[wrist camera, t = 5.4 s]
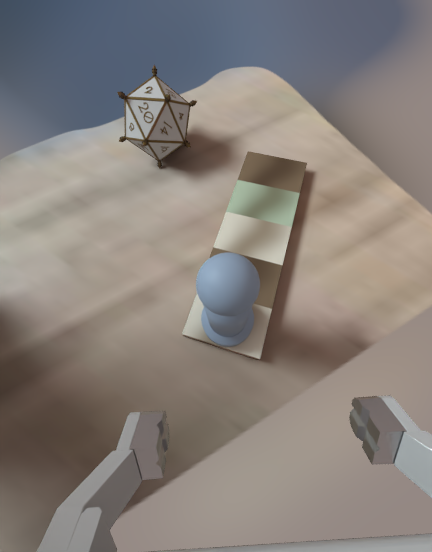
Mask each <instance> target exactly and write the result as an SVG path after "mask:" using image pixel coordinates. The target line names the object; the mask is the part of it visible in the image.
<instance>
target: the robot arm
mask: <svg viewBox="0 0 432 552" xmlns="http://www.w3.org/2000/svg"><path fill="white" fill-rule="evenodd" d="M352 406H353V407H354V409H353V410H352V411H351V412H350V424H351V427H352V429H353V432H354V433H355V435H356V437H357V438H359V439H360V440H361V441H363V446H362V448H363V449H364V451H365V453H366V455H367V456H368V458H369V460H370V462H371V464H394V466H396V467H397V468H398V469H399V470H400V471H401V472H402V473H404V474H405V475H406V476H407V477H408V478H409V479H410V480H412V481H413V482H414V483H415V484H416V485H417V486H419V487H420V488H421V489H422V490H423V491H424V492H425V493H427V494H428V495H429V496H430V497H431V498H432V434H430V433H428V432H427V431H421V430H420V429H419V427H418V426H417V425H416V424H415V423H414V421H413V420H412V419H411V418H410V417H409V416H408V414H407V413H406V412H405V411H404V410H403V408H402V407H401V406H400V405H399V404H398V402H397V401H396V400H395V399H394V398H393V397H392V396H390V395H389V396H372V397H359V398H354V399H353V400H352ZM166 417H167V416H166V412H165V411H149V412H130V414H129V415H128V417H127V420H126V422H125V425H124V428H123V431H122V434H121V437H120V440H119V442H118V445H117V448H116V451H112V452H111V453H110V454H109V455H108V456H107V457H106V458H105V459H104V460H103V461H102V462H101V463H100V464H99V465H98V466H97V467H96V468H95V469H94V470H93V471H92V472H91V474H90V475H89V476H88V477H87V478H86V479H85V480H84V481H83V482H82V483H81V484H80V485H79V486H78V487H77V488H76V489H75V490H74V491H73V492H72V493H71V494H70V495H69V496H68V497H67V499H66V500H65V501H64V502H63V503H62V504H61V505H60V506H59V507H58V508H57V510H56V512H55V514H54V516H53V518H52V520H51V523H50V525H49V527H48V529H47V531H46V533H45V535H44V538H43V540H42V542H41V544H40V546H39V548H38V550H37V552H117V548H116V546H115V543H114V541H113V538H112V536H111V534H110V531H109V530H110V529H111V527H112V526H113V524H114V523H115V521H116V520H117V518H118V517H119V515H120V514H121V512H122V511H123V509H124V508H125V506H126V505H127V503H128V502H129V500H130V499H131V497H132V496H133V494H134V493H135V491H136V490H137V488H138V487H139V485H140V484H141V482H142V480H148V479H158V478H163V476H164V469H165V463H166V458H165V452H166V450H167V449H168V444H169V426H168V424H167V423H166ZM151 552H152V551H151ZM153 552H432V534H416V535H400V536H385V537H369V538H355V539H354V538H353V539H338V540H324V541H306V542H291V543H275V544H261V545H246V546H245V545H244V546H231V547H230V546H229V547H215V548H214V547H213V548H198V549H183V550H167V551H153Z"/></svg>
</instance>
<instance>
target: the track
mask: <svg viewBox="0 0 432 552" xmlns="http://www.w3.org/2000/svg"><path fill="white" fill-rule="evenodd" d="M306 165H307V163H304V162H299V161H294V160H289V159H284V158H279V157H274V156H269V155H264V154H259V153H253V152H248V153H247V155H246V158H245V161H244V164H243V166H242V169H241V172H240V175H239V178H238V180H237V183H236V186H235V189H234V191H233V194H232V197H231V200H230V202H229V205H228V208H227V211H226V214H225V216H224V219H223V222H222V225H221V227H220V230H219V233H218V236H217V239H216V241H215V244H214V247H213V250H212V252H211V255H210V258H211V257H213V256H215V255H217V254H220V253H228V252H229V253H236V254H239V255H241V256H244V257H245V258H247V259H248V260H249V261H250V262H251V263H252V264H253V265H254V267H255V268H256V270H257V272H258V275H259V279H260V290H259V294H258V297H257V299H256V301H255V302H254V304H253V305H252V310H253V313H254V324H253V328H252V330H251V332H250V334H249V336H248V337H247V338H246V339H245V340H244V341H243V342H242V343H240V344H238V345H236V346H232V347H223V346H220V345H217V344H215V343H214V342H212V341H211V340H210V339H209V338H208V336H207V335H206V333H205V331H204V329H203V326H202V321H201V315H202V311H203V308H204V306H203V303H202V302H201V300H200V299H199V296H198V294H196V297H195V299H194V302H193V305H192V308H191V311H190V313H189V316H188V319H187V322H186V324H185V327H184V330H183V333H182V334H183V335H184V336H185V337H188V338H192V339H195V340H198V341H201V342H204V343H207V344H210V345H213V346H216V347H219V348H223V349H226V350H229V351H232V352H235V353H238V354H241V355H244V356H247V357H250V358H253V359H257V360H259V359H260V357H261V353H262V349H263V344H264V340H265V336H266V332H267V328H268V324H269V319H270V315H271V311H272V307H273V303H274V299H275V294H276V290H277V286H278V282H279V278H280V274H281V269H282V265H283V261H284V257H285V253H286V249H287V244H288V240H289V236H290V232H291V228H292V224H293V219H294V215H295V211H296V207H297V203H298V198H299V194H300V190H301V186H302V182H303V178H304V173H305V169H306Z"/></svg>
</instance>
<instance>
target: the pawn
mask: <svg viewBox="0 0 432 552" xmlns="http://www.w3.org/2000/svg"><path fill="white" fill-rule="evenodd" d="M196 289H197V294H198V296H199V299H200V300H201V302H202V303H203V306H204V308H203V311H202V315H201V321H202V326H203V329H204V331H205V333H206V335H207V336H208V338H209V339H210V340H211V341H212V342H214V343H215V344H217V345H220V346H223V347H232V346H236V345H238V344H240V343H242V342H243V341H244V340H245V339H246V338H247V337H248V336H249V334H250V332H251V330H252V328H253V324H254V313H253V310H252V305H253V304H254V302H255V301H256V299H257V297H258V294H259V290H260V279H259V275H258V272H257V270H256V268H255V267H254V265H253V264H252V263H251V262H250V261H249V260H248V259H247V258H245V257H244V256H241V255H239V254H236V253H229V252H228V253H220V254H217V255H215V256H213V257H211V258H209V259H208V260H207V261H206V262H205V263H204V264H203V265H202V267H201V268H200V270H199V272H198V275H197V280H196Z"/></svg>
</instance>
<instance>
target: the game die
mask: <svg viewBox="0 0 432 552" xmlns="http://www.w3.org/2000/svg"><path fill="white" fill-rule="evenodd" d="M152 73H153V76H152V77H151V78H150V79H148V80H147V81H146V82H144V83H143V84H142V85H140V86H139V87H138V88H136V89H135V90H133V91H132V92H131V93H129V94H128V95H127V96H125V94H124V93H123V92H118V94H119V97H121V98H122V99H124V102H125V136H124V137H120V140H119V142H123V141H125V140H126V139H127V140H128V141H130V142H131V143H133V144H134V145H136V146H137V147H139V148H140V149H142V150H143V151H144V152H146V153H147V154H149V155H150V156H152V157H153V158H155V159H156V160H158V167H159V168H161V166H162V163H161V160H163V159H164V158H165V157H167V156H168V155H170V154H171V153H172V152H174V151H175V150H176V149H178V148H179V147H181V146H182V145H183V144H185V146H186V147H191V146H190V143H188V141H187V140H186V135H187V128H188V120H189V112H190V107H191V106H194V105H195V104H196V102H197V101H194V100H192V101H191V102H190V103H188V102H187V101H186V100H184V99H183V98H182V97H181V96H180V95H178V94H177V93H176V92H175V91H174V90H172V89H171V88H170V87H169V86H168V85H166V84H165V83H164V82H163V81H162V80H160V79H159V78H158V77H157V76H156V74H157V69H156V67H155V66H154V67H153V69H152Z"/></svg>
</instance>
